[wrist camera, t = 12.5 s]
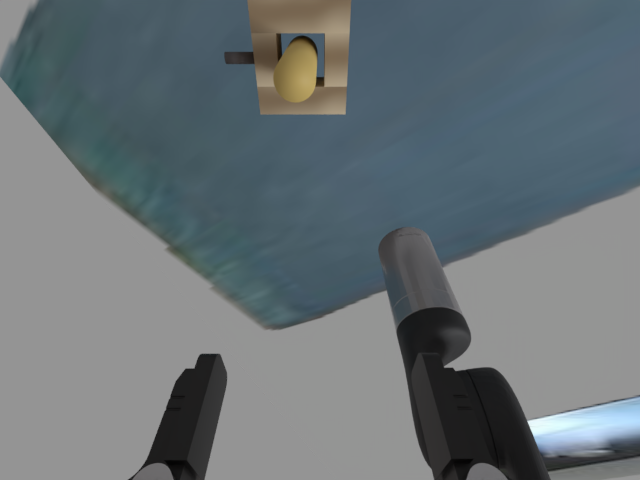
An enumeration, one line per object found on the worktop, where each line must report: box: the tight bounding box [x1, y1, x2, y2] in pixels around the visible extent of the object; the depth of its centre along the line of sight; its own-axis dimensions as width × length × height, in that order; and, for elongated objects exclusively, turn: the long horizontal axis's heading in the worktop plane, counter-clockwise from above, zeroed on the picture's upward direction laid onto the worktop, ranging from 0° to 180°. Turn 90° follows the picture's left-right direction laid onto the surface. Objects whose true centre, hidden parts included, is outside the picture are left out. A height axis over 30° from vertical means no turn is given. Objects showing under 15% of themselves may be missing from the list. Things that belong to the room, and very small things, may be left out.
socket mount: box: [224, 0, 351, 114], centre depth 35 cm, size 11×14×5 cm
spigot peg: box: [273, 35, 318, 103], centre depth 32 cm, size 4×4×14 cm
